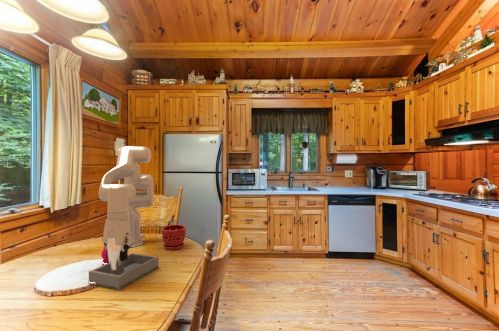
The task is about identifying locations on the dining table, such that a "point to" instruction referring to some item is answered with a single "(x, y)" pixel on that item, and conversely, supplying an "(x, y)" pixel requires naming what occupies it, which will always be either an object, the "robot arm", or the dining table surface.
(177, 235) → the plant pot
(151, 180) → the robot arm
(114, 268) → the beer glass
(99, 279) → the tote
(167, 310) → the dining table surface
